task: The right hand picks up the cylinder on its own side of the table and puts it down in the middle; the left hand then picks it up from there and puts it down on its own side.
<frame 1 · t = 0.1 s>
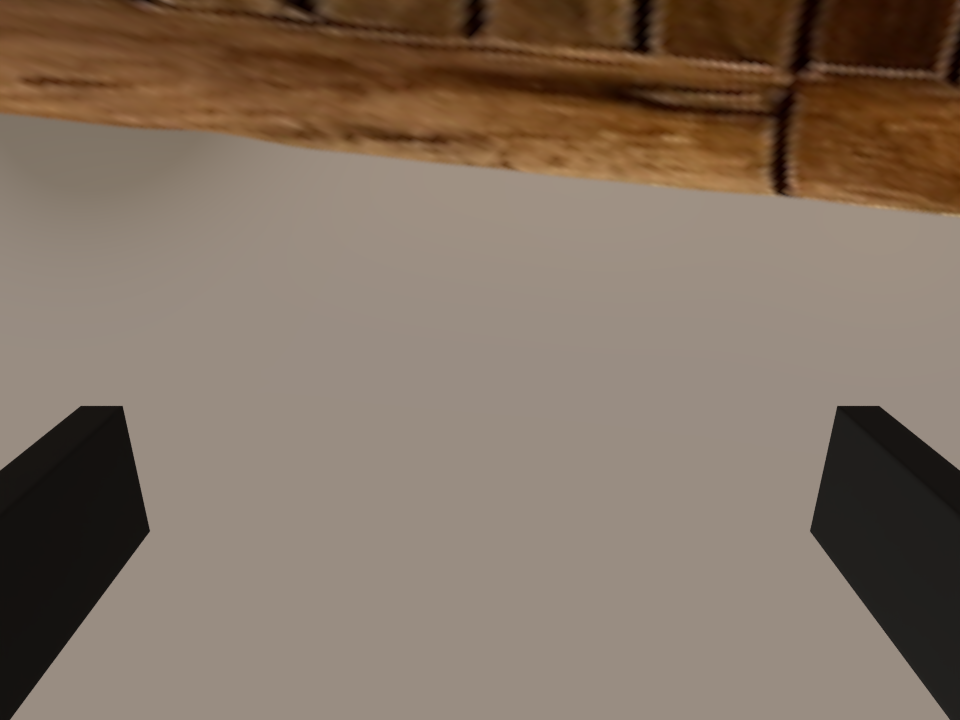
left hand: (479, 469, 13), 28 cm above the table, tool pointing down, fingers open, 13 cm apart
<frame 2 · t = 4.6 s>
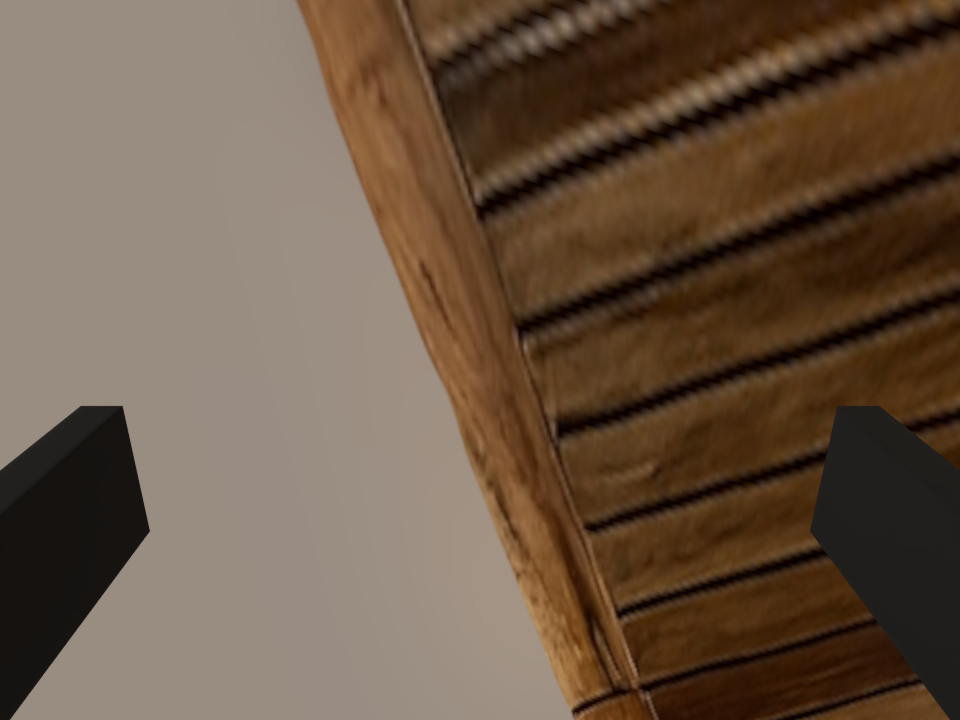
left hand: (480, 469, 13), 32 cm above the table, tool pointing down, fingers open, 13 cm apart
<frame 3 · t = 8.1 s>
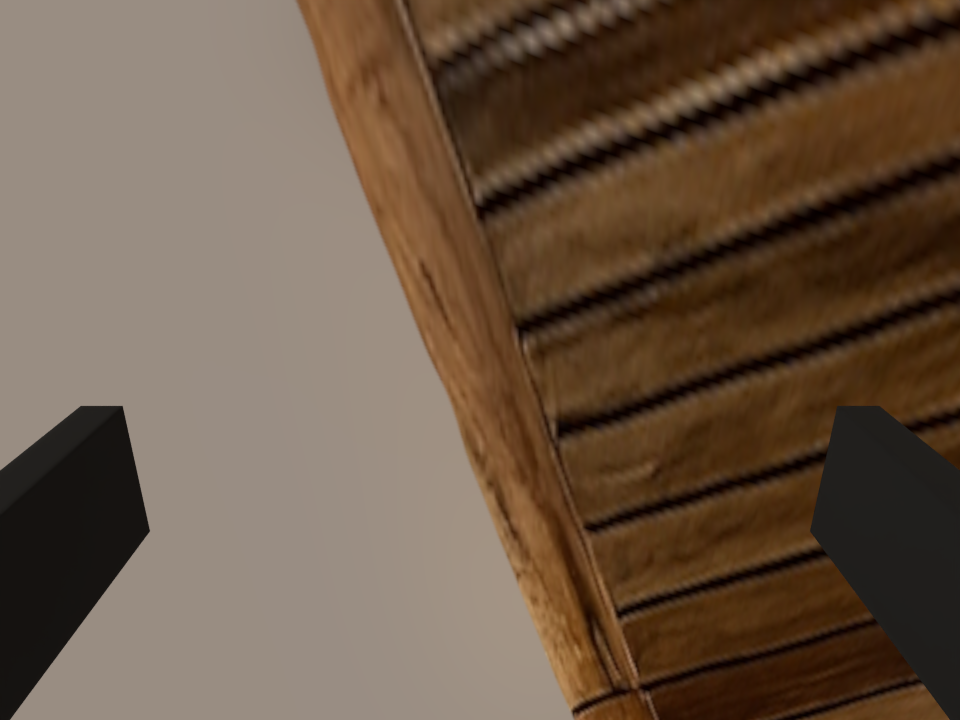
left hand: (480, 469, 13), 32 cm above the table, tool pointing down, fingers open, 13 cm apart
when the right hand's fingers open (7 cm above the table, at t = 11.6 s): cylinder stays where it is, on the table.
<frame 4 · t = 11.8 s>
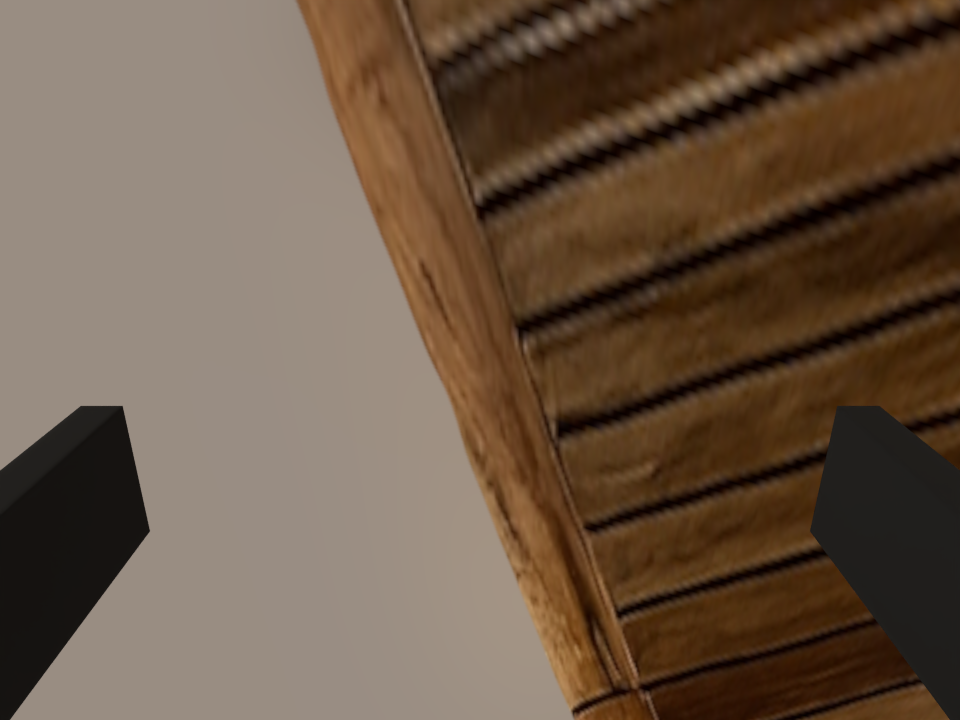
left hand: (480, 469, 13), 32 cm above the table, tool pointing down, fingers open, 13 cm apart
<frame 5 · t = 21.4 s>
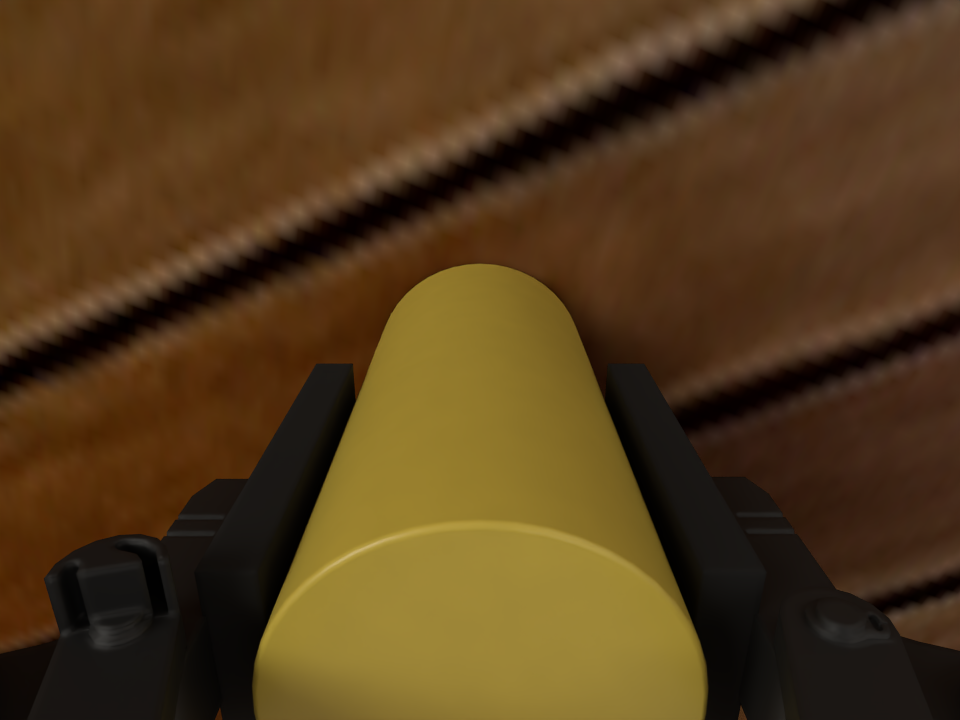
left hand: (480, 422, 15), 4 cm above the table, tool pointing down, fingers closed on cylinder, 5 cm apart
cylinder: (480, 361, 18), on the table, touching left hand
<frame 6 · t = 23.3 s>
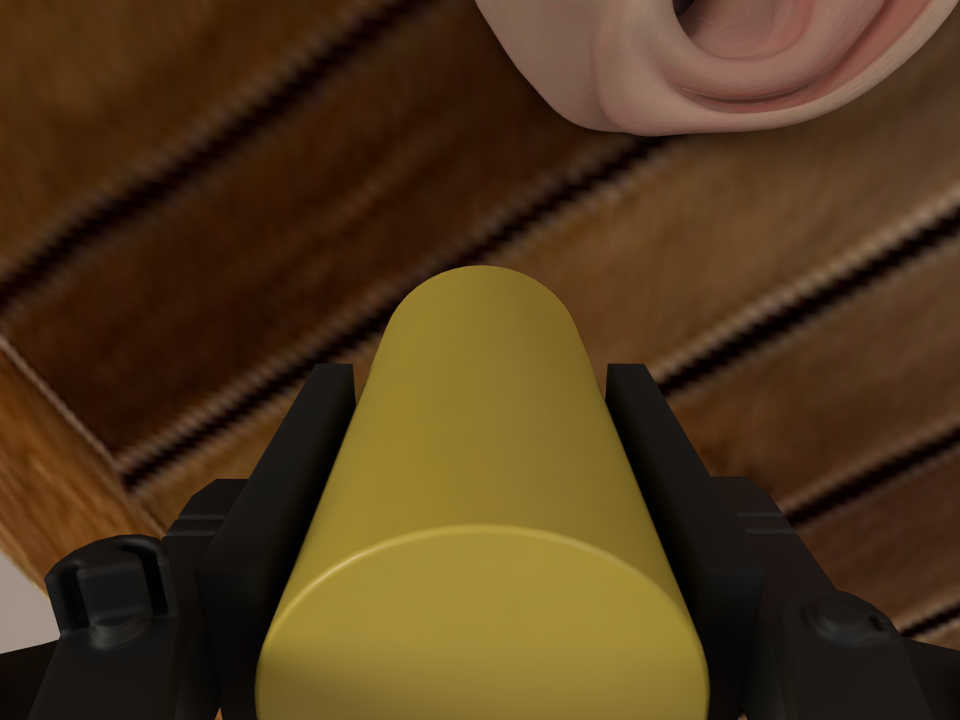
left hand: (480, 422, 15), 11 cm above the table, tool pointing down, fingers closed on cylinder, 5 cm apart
cylinder: (481, 362, 18), point 7 cm above the table, touching left hand
when the left hand's fingers open (5 cm above the table, at t = 25.7 s): cylinder stays where it is, on the table.
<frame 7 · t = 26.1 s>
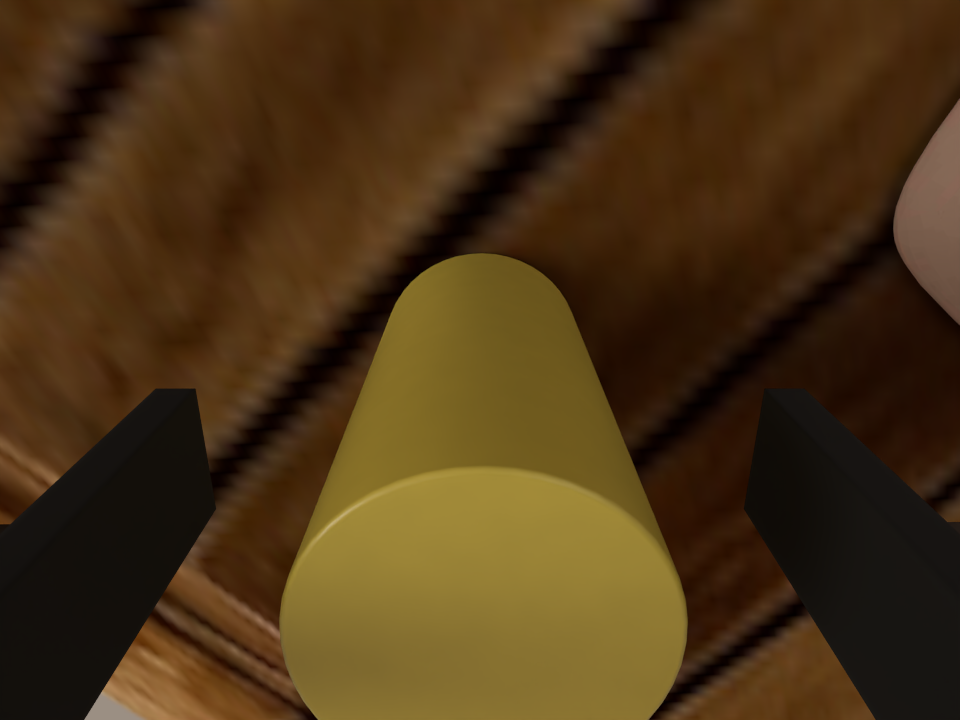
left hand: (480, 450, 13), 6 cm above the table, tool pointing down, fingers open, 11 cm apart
cylinder: (481, 346, 19), on the table
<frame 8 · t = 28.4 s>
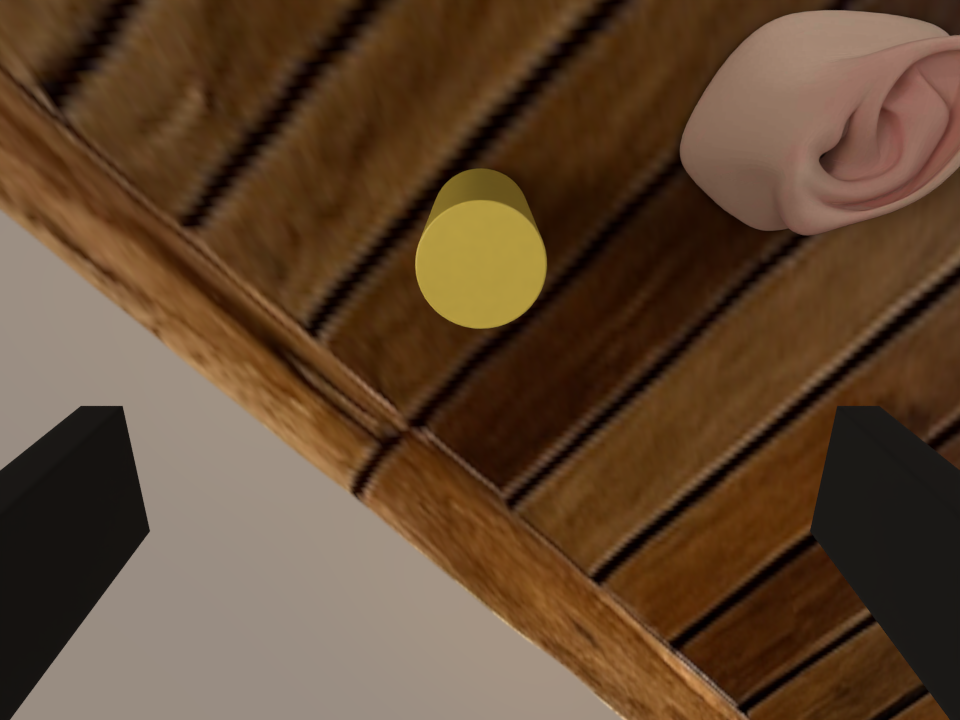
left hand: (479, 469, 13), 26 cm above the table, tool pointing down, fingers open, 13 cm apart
anatomical model: (814, 125, 36), on the table
cylinder: (480, 217, 37), on the table
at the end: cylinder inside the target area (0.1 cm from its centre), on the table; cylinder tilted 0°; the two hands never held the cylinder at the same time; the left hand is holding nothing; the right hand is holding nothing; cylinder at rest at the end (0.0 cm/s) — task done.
